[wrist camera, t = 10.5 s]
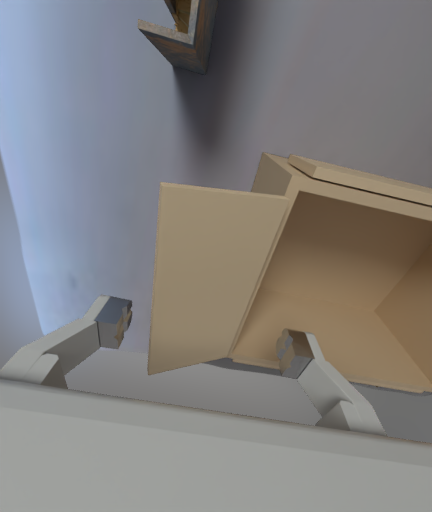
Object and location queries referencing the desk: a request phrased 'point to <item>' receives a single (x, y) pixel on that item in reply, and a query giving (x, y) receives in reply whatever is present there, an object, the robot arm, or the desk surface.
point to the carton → (345, 273)
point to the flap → (206, 269)
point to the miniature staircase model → (185, 34)
